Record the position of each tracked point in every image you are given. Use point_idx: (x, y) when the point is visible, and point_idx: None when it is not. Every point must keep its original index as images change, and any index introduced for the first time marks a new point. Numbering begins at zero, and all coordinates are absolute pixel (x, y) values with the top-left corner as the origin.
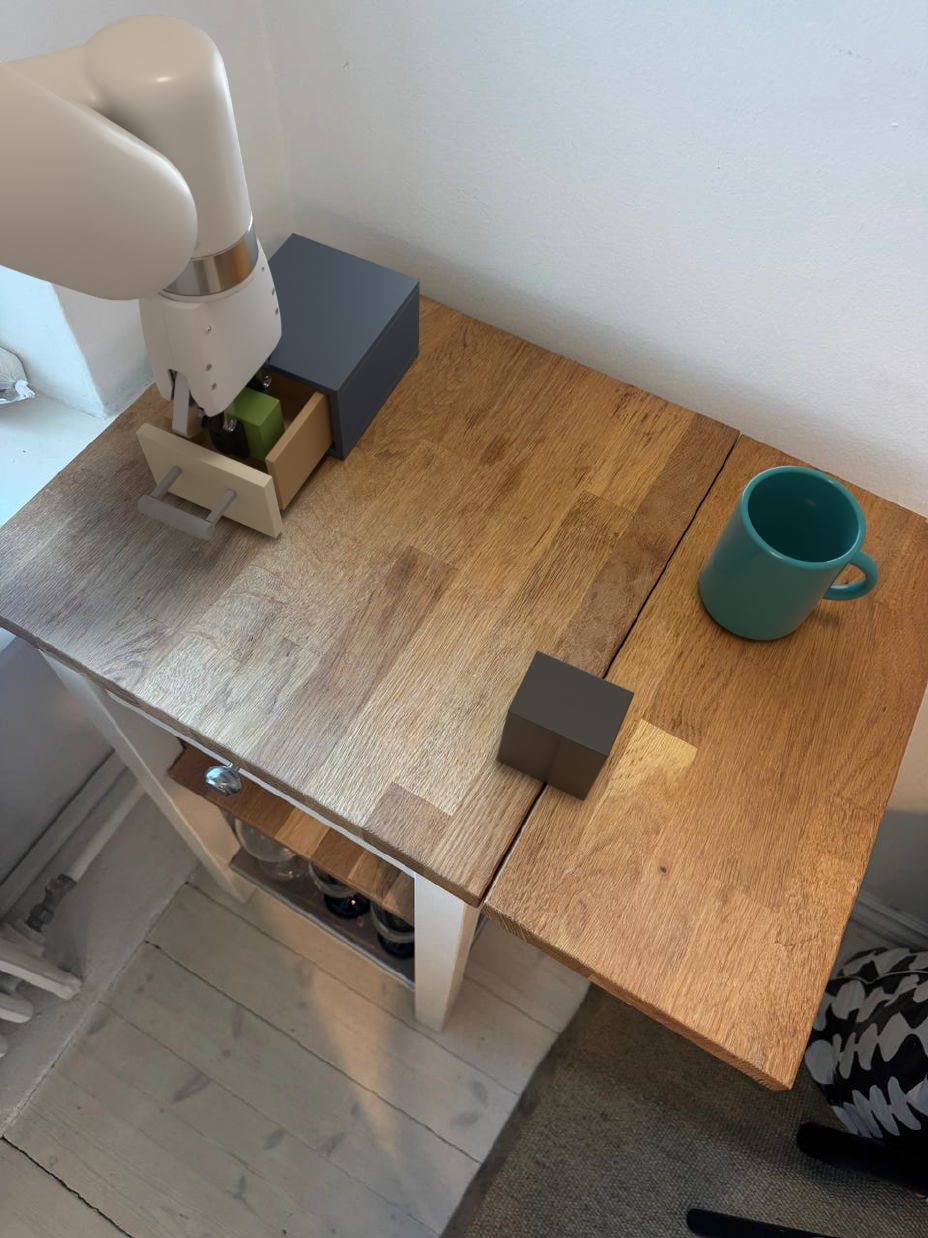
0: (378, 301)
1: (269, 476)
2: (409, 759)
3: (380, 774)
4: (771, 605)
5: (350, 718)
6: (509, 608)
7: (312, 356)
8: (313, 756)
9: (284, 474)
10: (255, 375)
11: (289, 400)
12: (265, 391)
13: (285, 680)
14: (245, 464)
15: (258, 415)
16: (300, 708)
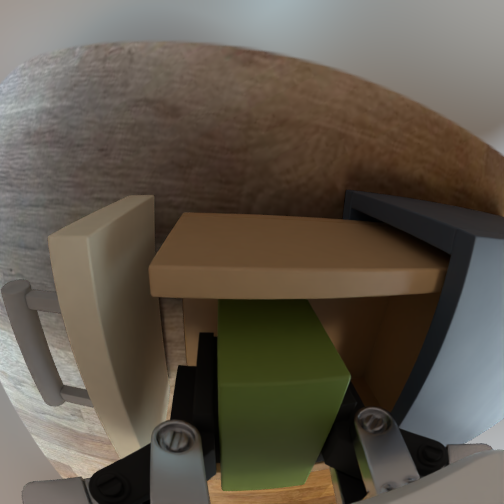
0: (498, 413)
1: None
2: (85, 471)
3: (67, 461)
4: None
5: (75, 450)
6: (213, 493)
7: None
8: (42, 436)
9: None
10: (339, 486)
11: (380, 313)
12: (323, 460)
13: (57, 416)
14: None
15: (248, 484)
16: (53, 427)
